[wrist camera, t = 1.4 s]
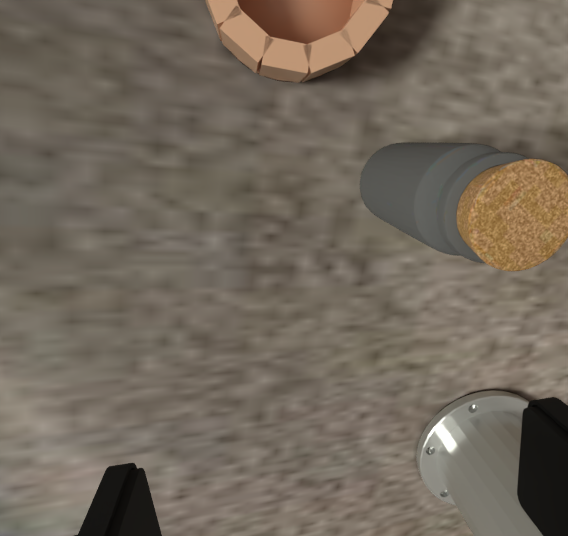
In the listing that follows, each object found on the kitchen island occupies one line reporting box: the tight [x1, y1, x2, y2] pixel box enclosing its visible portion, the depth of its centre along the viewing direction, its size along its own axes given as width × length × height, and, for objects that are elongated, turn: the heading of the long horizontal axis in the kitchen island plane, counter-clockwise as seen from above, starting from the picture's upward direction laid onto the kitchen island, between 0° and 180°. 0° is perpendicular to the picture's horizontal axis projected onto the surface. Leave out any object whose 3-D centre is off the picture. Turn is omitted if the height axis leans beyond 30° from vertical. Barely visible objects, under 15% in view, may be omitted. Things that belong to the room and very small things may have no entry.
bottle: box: [360, 143, 568, 271], centre depth 24 cm, size 6×6×15 cm
